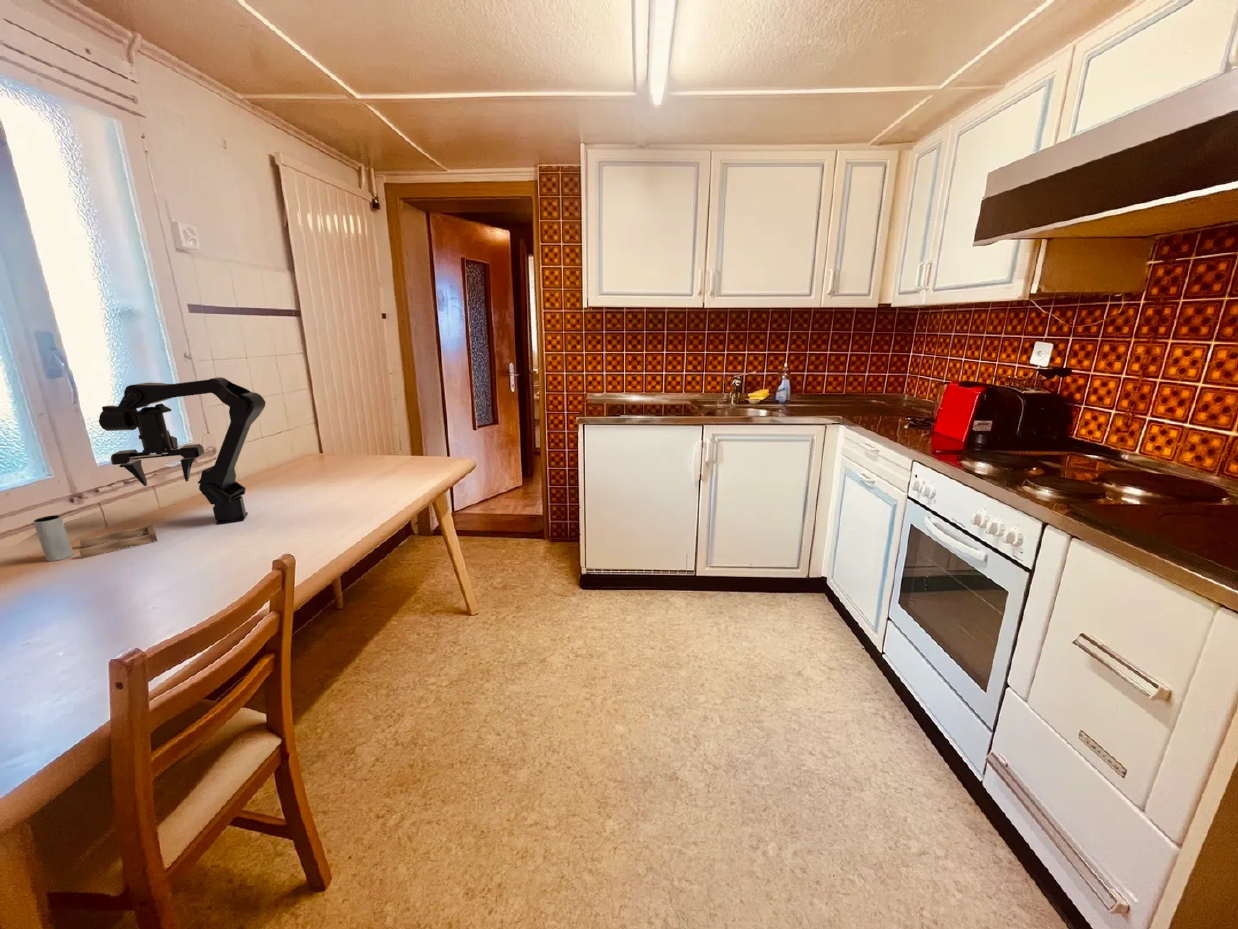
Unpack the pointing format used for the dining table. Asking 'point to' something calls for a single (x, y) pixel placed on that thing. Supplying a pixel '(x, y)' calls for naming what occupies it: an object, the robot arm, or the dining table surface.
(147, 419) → the robot arm
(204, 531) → the dining table surface
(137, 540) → the tan u-shaped frame
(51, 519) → the planter
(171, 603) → the dining table surface
